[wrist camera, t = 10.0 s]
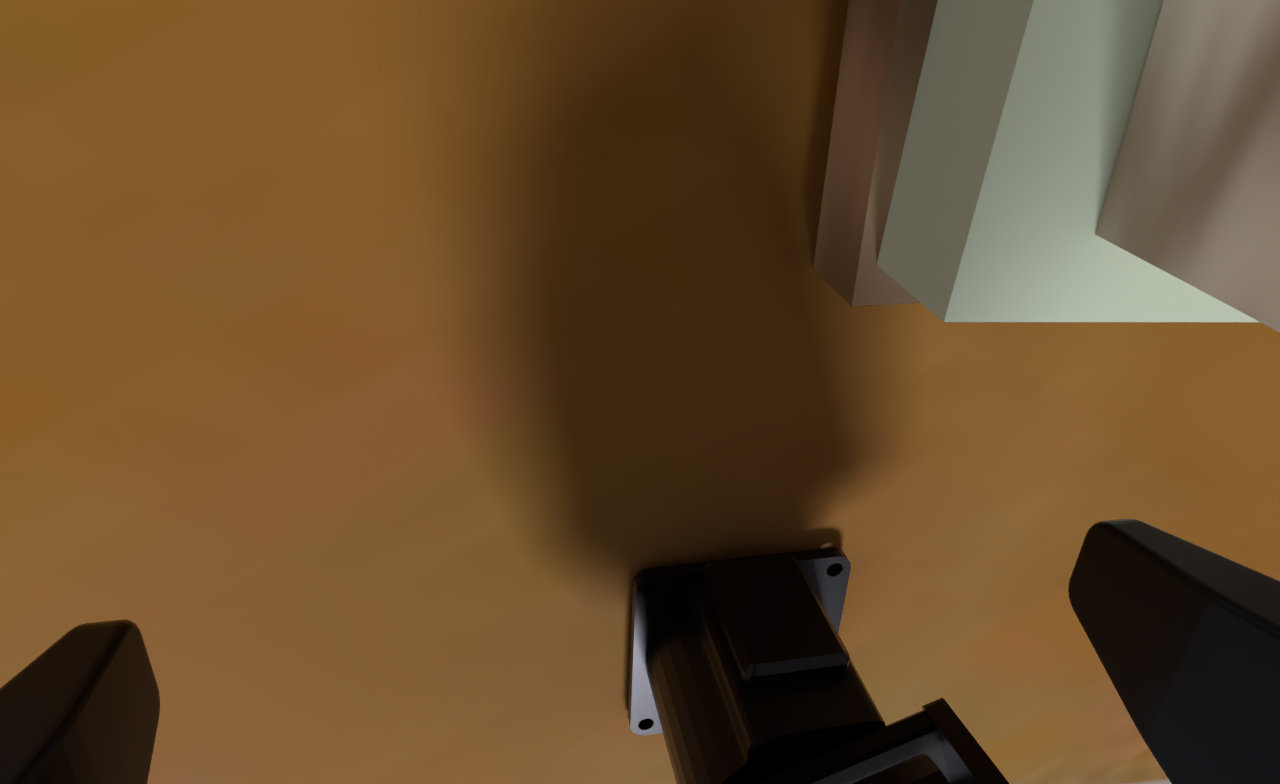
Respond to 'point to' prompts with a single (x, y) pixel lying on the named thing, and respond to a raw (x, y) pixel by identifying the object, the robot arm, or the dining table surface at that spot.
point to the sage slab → (1027, 168)
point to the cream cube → (1206, 154)
